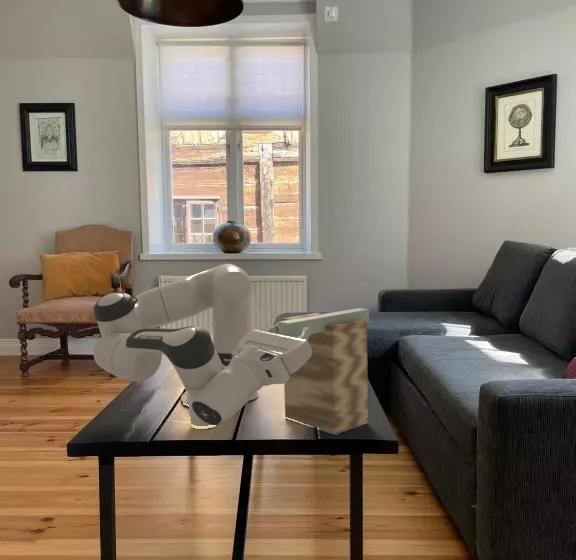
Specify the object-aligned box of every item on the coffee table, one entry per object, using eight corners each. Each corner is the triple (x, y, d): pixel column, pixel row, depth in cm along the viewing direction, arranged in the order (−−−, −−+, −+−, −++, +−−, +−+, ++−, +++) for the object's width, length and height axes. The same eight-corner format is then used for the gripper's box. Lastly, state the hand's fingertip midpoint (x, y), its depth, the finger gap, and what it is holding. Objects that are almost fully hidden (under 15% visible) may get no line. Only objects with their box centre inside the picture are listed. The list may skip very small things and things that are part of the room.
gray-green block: (289, 338, 140) (288, 323, 139) (279, 336, 142) (278, 321, 142) (369, 323, 157) (369, 309, 157) (358, 321, 160) (358, 308, 160)
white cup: (221, 420, 162) (219, 382, 161) (218, 430, 154) (217, 391, 153) (190, 421, 162) (189, 383, 161) (187, 431, 154) (185, 392, 153)
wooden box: (334, 436, 148) (332, 326, 145) (285, 419, 161) (282, 318, 158) (368, 424, 155) (366, 320, 153) (318, 408, 169) (316, 312, 166)
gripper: (233, 368, 145) (272, 332, 152) (291, 384, 130) (331, 343, 137) (221, 347, 143) (261, 311, 150) (279, 361, 127) (320, 321, 134)
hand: (295, 327), depth 143 cm, fingers open, 8 cm apart
